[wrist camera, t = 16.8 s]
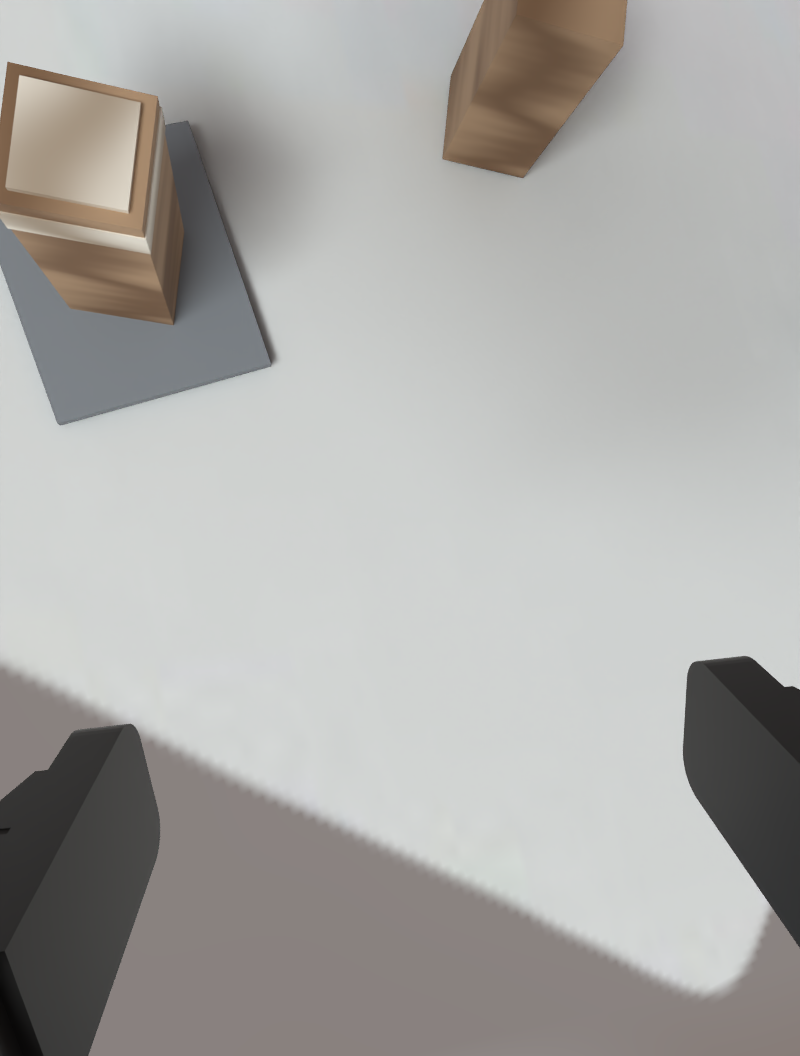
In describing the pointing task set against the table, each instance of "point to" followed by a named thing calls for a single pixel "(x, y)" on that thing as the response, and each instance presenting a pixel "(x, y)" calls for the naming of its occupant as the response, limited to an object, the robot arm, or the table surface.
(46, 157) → the label box
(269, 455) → the table surface
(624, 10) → the plain box
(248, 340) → the slate mat
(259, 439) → the table surface
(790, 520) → the table surface
